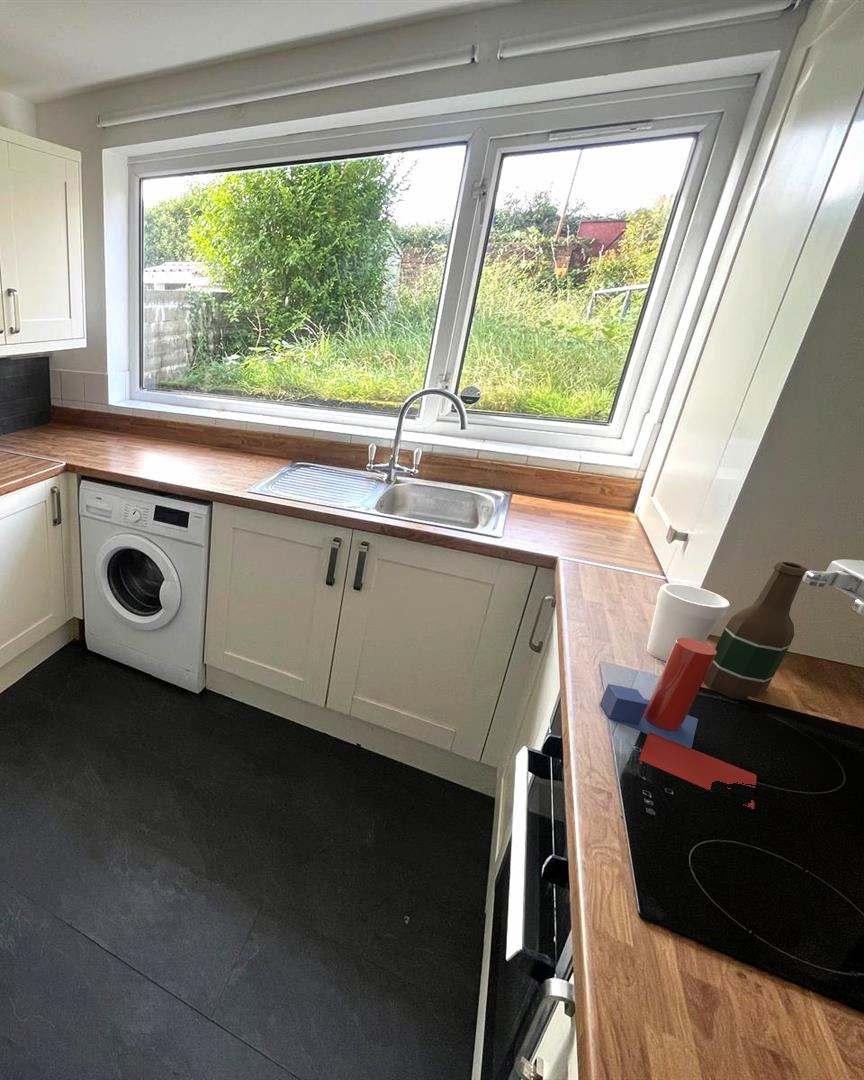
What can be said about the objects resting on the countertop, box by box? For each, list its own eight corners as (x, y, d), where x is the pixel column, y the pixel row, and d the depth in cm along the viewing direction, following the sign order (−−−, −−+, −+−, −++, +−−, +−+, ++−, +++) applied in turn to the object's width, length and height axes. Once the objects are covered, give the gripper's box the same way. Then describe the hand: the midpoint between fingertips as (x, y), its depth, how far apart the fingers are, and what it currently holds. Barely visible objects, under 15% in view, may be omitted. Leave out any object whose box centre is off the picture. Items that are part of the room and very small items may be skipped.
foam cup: (624, 645, 113) (649, 586, 108) (657, 639, 116) (682, 580, 111) (678, 673, 105) (707, 610, 100) (712, 665, 108) (742, 604, 103)
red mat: (755, 777, 82) (756, 775, 81) (752, 812, 76) (754, 809, 76) (647, 733, 90) (648, 731, 89) (638, 761, 84) (638, 759, 84)
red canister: (682, 722, 92) (718, 646, 86) (678, 735, 89) (715, 658, 83) (645, 708, 95) (678, 634, 89) (640, 720, 92) (674, 645, 86)
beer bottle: (729, 676, 104) (790, 555, 95) (774, 704, 97) (844, 576, 88) (688, 676, 104) (745, 554, 95) (729, 704, 97) (795, 575, 88)
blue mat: (697, 720, 93) (698, 718, 93) (689, 753, 86) (690, 751, 85) (620, 691, 99) (621, 689, 99) (607, 719, 92) (608, 717, 92)
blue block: (628, 709, 94) (637, 689, 93) (638, 725, 91) (648, 704, 89) (599, 703, 95) (608, 683, 94) (608, 718, 92) (617, 698, 90)
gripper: (1038, 675, 66) (879, 650, 70) (893, 598, 84) (774, 582, 88) (1073, 627, 64) (906, 604, 68) (916, 559, 82) (792, 544, 86)
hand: (830, 591), depth 78 cm, fingers open, 8 cm apart
